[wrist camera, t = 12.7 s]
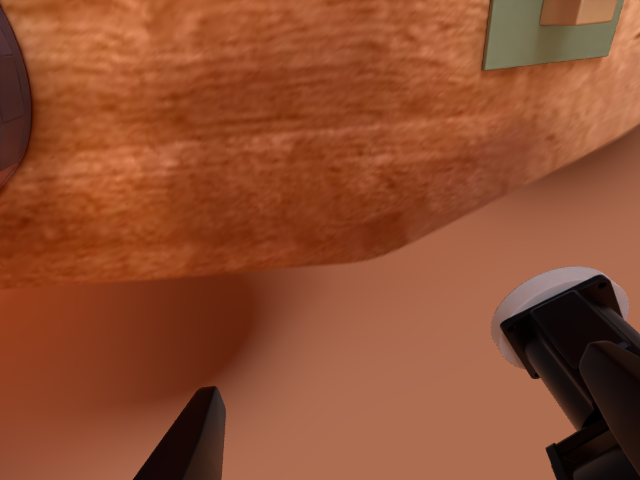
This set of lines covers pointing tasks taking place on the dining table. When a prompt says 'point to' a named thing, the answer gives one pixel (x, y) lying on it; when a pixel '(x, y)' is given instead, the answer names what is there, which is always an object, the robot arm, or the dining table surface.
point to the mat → (540, 36)
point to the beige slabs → (577, 12)
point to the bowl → (12, 103)
